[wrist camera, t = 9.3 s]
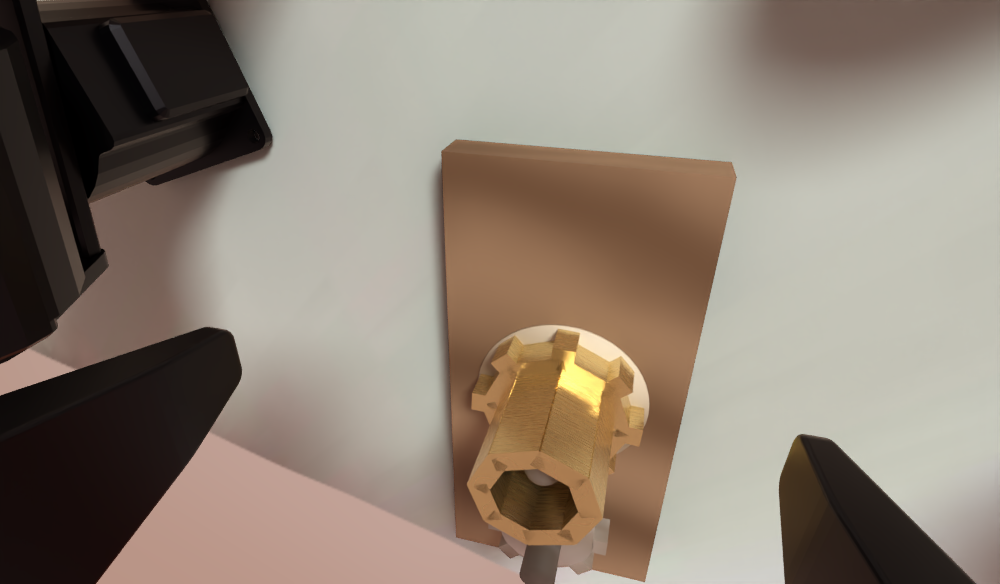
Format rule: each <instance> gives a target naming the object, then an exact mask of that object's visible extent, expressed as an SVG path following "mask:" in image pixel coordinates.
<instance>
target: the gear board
mask: <svg viewBox="0 0 1000 584" xmlns="http://www.w3.org/2000/svg"><path fill="white" fill-rule="evenodd" d="M441 153H442V179H443V205H444V231H445V258H446V284H447V310H448V336H449V362H450V389H451V415H452V441H453V467H454V493H455V520H456V537H457V538H461V539H466V540H470V541H474V542H478V543H483V544H487V545H491V546H495V547H498V548H499V549H501V550H502V551H503V552H504V553H505V554H506V555H507V556H508V557H509V558H513V557H515V556H518V555H521V556H522V557H524V558H523V562H522V566H521V570H520V578H521V579H522V581H523V582H525V584H554V582H555V577H556V571H557V567H568V566H569V567H570V568H571V569H572V570H573V571H574V572H575V573H577V574H581V573H584V572H587V571H590V570H596V571H600V572H605V573H609V574H613V575H617V576H622V577H626V578H630V579H634V580H638V581H643V582H645V579H646V574H647V570H648V566H649V561H650V557H651V552H652V548H653V544H654V539H655V535H656V530H657V526H658V521H659V517H660V513H661V508H662V504H663V499H664V495H665V491H666V486H667V482H668V477H669V473H670V469H671V464H672V460H673V455H674V451H675V447H676V442H677V438H678V433H679V429H680V424H681V420H682V416H683V411H684V407H685V402H686V398H687V394H688V389H689V385H690V380H691V376H692V372H693V367H694V363H695V358H696V354H697V350H698V345H699V341H700V336H701V332H702V327H703V323H704V319H705V314H706V310H707V305H708V301H709V297H710V292H711V288H712V283H713V279H714V275H715V270H716V266H717V261H718V257H719V253H720V248H721V244H722V239H723V235H724V230H725V226H726V222H727V217H728V213H729V208H730V204H731V200H732V195H733V191H734V186H735V182H736V178H737V177H736V174H735V171H734V168H733V165H732V162H721V161H709V160H697V159H685V158H673V157H661V156H648V155H636V154H624V153H612V152H600V151H588V150H576V149H564V148H552V147H540V146H528V145H516V144H504V143H492V142H480V141H468V140H455V141H454V142H452V143H451V144H450V145H449V146H447V147H446V148H445V149H444V150H442V151H441ZM558 329H563V330H568V331H573V332H579V333H580V339H579V345H581V346H582V347H584V348H586V349H588V350H589V351H591V352H593V353H595V354H597V355H598V356H600V357H602V358H604V359H605V360H607V361H609V362H610V361H612V360H614V359H616V358H618V357H620V356H622V357H623V359H624V360H625V361H626V362H627V363H628V365H629V366H630V367H631V368H632V369H633V371H634V383H633V393H631V394H629V395H628V397H629V400H630V404H631V405H632V406H637V407H642V408H645V409H644V427H643V433H642V437H641V441H640V445H639V447H638V446H634V445H629V444H624V445H623V446H622V447H621V449H620V450H619V451H618V452H617V454H616V463H615V472H614V473H612V474H610V475H608V479H607V488H606V496H605V504H604V512H603V519H602V520H601V521H600V522H599V523H598V524H597V525H596V526H595V527H594V528H593V529H592V530H591V531H590V532H589V533H588V534H587V535H586V536H585V537H584V538H583V539H582V540H581V541H580V542H579V543H578V544H577V545H576V544H575V545H528V544H527V545H526V544H524V543H522V542H521V541H519V540H517V539H515V538H513V537H512V536H510V535H508V534H506V533H504V532H503V531H501V530H499V529H497V528H495V527H494V526H492V525H490V524H488V523H486V522H485V520H483V518H482V516H481V514H480V512H479V510H478V508H477V506H476V503H475V501H474V499H473V497H472V495H471V493H470V491H469V488H468V486H467V482H468V480H469V477H470V475H471V472H472V470H473V467H474V465H475V462H476V459H477V457H478V454H479V452H480V449H481V447H482V444H483V442H484V439H485V436H486V434H487V431H488V429H489V426H490V425H489V422H488V420H487V418H486V415H485V413H484V412H482V411H477V410H473V409H471V408H472V392H473V390H474V388H475V386H476V384H477V381H478V379H479V377H480V375H481V374H485V375H490V376H494V375H495V373H496V372H497V370H496V369H495V367H494V366H493V365H492V364H491V362H492V359H493V357H494V355H495V353H496V351H497V348H498V346H499V344H501V343H503V342H504V341H506V340H508V339H509V338H511V337H513V336H514V335H515V336H516V337H517V338H518V339H519V340H520V341H521V343H522V344H523V345H526V344H533V343H540V342H547V341H554V340H555V337H556V334H557V331H558ZM524 471H525V474H526V475H527V477H528V478H529V479H530V480H531V481H532V482H533V483H535V484H537V485H540V486H549V485H552V484H554V483H556V482H557V481H558V480H556V479H554V478H553V477H551V476H549V475H547V474H545V473H544V472H542V471H540V470H538V469H529V470H524Z"/></svg>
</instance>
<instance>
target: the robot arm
mask: <svg viewBox="0 0 1000 584" xmlns="http://www.w3.org/2000/svg"><path fill="white" fill-rule="evenodd" d="M254 130H255V131H256V132H257V133H258V134H259V138H260V139H259V140H258V139H257V138H256V137H255V135H254ZM271 141H272V134H271V131H270V129H269V127H268V125H267V123H266V121H265V119H264V116H263V114H262V112H261V110H260V108H259V106H258V104H257V102H256V100H255V98H254V96H253V94H252V92H251V90H250V88H249V86H248V84H247V82H246V80H245V78H244V76H243V74H242V72H241V70H240V68H239V65H238V63H237V61H236V59H235V57H234V55H233V53H232V51H231V49H230V47H229V45H228V43H227V41H226V39H225V37H224V35H223V33H222V31H221V29H220V27H219V25H218V23H217V21H216V19H215V17H214V15H213V13H212V11H211V8H210V6H209V4H208V2H207V0H49V1H36V0H0V364H1V363H4V362H6V361H8V360H10V359H11V358H13V357H15V356H16V355H18V354H20V353H22V352H23V351H25V350H26V349H28V348H30V347H32V346H33V345H35V344H37V343H39V342H40V341H42V340H44V339H46V338H47V337H49V336H50V335H51V334H52V333H53V332H54V331H55V330H56V329H57V327H58V324H57V321H56V320H57V319H58V318H59V317H60V316H61V315H62V314H63V313H64V312H65V311H66V310H67V309H68V308H69V307H70V306H71V305H72V304H73V303H74V302H75V301H76V300H77V299H78V298H79V297H80V296H81V294H82V293H83V292H84V291H85V290H86V289H87V288H88V287H89V286H90V285H91V284H92V283H93V282H94V281H95V280H96V279H97V278H98V277H99V276H100V275H101V274H102V273H103V272H104V271H105V270H106V269H107V268H108V266H109V265H108V261H107V257H106V253H105V251H104V250H103V249H101V248H100V244H99V240H98V237H97V233H96V229H95V225H94V221H93V217H92V213H91V210H90V206H89V203H92V202H94V201H97V200H99V199H102V198H104V197H107V196H109V195H112V194H114V193H116V192H119V191H121V190H124V189H126V188H129V187H131V186H134V185H136V184H139V183H141V182H144V181H146V182H147V183H148V184H151V185H159V184H162V183H164V182H167V181H170V180H173V179H176V178H179V177H182V176H185V175H188V174H191V173H194V172H196V171H199V170H202V169H205V168H208V167H211V166H214V165H217V164H220V163H223V162H225V161H228V160H231V159H234V158H237V157H240V156H243V155H246V154H249V153H252V152H255V151H257V150H260V149H263V148H265V147H267V146H268V145H270V143H271ZM241 375H242V367H241V363H240V359H239V355H238V351H237V347H236V343H235V339H234V337H233V335H232V334H231V332H229V331H228V330H224V329H219V328H213V327H204V328H201V329H198V330H195V331H192V332H189V333H186V334H183V335H180V336H177V337H174V338H171V339H168V340H165V341H162V342H159V343H156V344H153V345H150V346H147V347H144V348H141V349H138V350H135V351H132V352H129V353H126V354H123V355H120V356H117V357H114V358H111V359H108V360H105V361H102V362H99V363H96V364H93V365H90V366H87V367H84V368H81V369H78V370H75V371H72V372H69V373H66V374H63V375H60V376H57V377H54V378H52V379H48V380H46V381H42V382H39V383H36V384H33V385H31V386H27V387H24V388H21V389H18V390H16V391H12V392H10V393H6V394H4V395H1V396H0V584H96V583H97V582H98V580H99V579H100V578H101V576H102V575H103V574H104V572H105V571H106V570H107V569H108V567H109V566H110V565H111V563H112V562H113V561H114V559H115V558H116V557H117V556H118V554H119V553H120V552H121V550H122V549H123V548H124V546H125V545H126V544H127V542H128V541H129V540H130V539H131V537H132V536H133V535H134V533H135V532H136V531H137V529H138V528H139V527H140V525H141V524H142V523H143V521H144V520H145V519H146V517H147V516H148V515H149V514H150V512H151V511H152V510H153V508H154V507H155V506H156V505H157V503H158V502H159V501H160V499H161V498H162V497H163V495H164V494H165V493H166V491H167V490H168V489H169V487H170V486H171V485H172V483H173V482H174V481H175V480H176V478H177V477H178V476H179V474H180V473H181V472H182V471H183V469H184V468H185V466H186V465H187V464H188V462H189V461H190V460H191V458H192V457H193V455H194V454H195V452H196V451H197V449H198V448H199V446H200V445H201V443H202V442H203V440H204V438H205V437H206V435H207V434H208V432H209V430H210V429H211V427H212V426H213V424H214V422H215V421H216V419H217V417H218V416H219V414H220V413H221V411H222V409H223V408H224V406H225V405H226V403H227V401H228V400H229V398H230V397H231V395H232V393H233V392H234V390H235V389H236V387H237V385H238V384H239V382H240V379H241ZM779 501H780V516H781V531H782V546H783V562H784V577H785V584H976V583H975V582H974V581H973V580H972V579H971V578H970V577H969V576H968V575H967V574H966V573H965V572H964V571H963V570H962V569H961V568H960V567H959V566H958V565H957V564H956V563H955V562H954V561H953V560H952V559H951V558H950V557H949V556H948V555H947V554H946V553H945V552H944V551H943V550H942V549H941V548H940V547H939V546H938V545H937V544H936V543H935V542H934V541H933V540H932V539H931V538H930V537H929V536H928V535H927V534H926V533H925V532H924V531H923V530H922V529H921V528H920V527H919V526H918V525H917V524H916V523H915V522H914V521H913V520H912V519H911V518H910V517H909V516H908V515H907V514H906V513H905V512H904V511H903V510H902V509H901V508H900V507H899V506H898V505H897V504H896V503H895V502H894V501H893V500H892V499H891V498H890V497H889V496H888V495H887V494H886V493H885V492H884V491H883V490H882V489H881V488H880V487H879V486H878V485H877V484H876V483H875V482H874V481H873V480H872V479H871V478H870V477H869V476H868V475H867V474H866V473H865V472H864V471H863V470H862V469H861V468H860V467H859V466H858V465H857V464H856V463H855V462H854V461H853V460H852V459H851V458H850V457H849V456H848V455H847V454H846V453H845V452H844V451H843V450H842V449H841V448H840V447H839V446H838V445H837V444H836V443H834V442H833V441H832V440H830V439H828V438H823V437H817V436H812V435H806V434H801V435H798V436H797V437H796V438H795V440H794V442H793V444H792V447H791V449H790V452H789V455H788V457H787V460H786V462H785V465H784V468H783V470H782V473H781V476H780V482H779Z"/></svg>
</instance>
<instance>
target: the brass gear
mask: <svg viewBox="0 0 1000 584" xmlns="http://www.w3.org/2000/svg"><path fill="white" fill-rule="evenodd" d="M579 339H580V333H579V332H573V331H568V330H563V329H558V331H557V334H556V337H555V340H554V341H547V342H540V343H533V344H526V345H523V344H522V343H521V341H520V340H519V339H518V338H517V337H516V336H515V335H514V336H513V337H511V338H509V339H508V340H506V341H504V342H503V343H501V344H499V346H498V348H497V351H496V353H495V355H494V357H493V359H492V362H491V364H492V365H493V366H494V367H495V369H496V370H497V372H496V373H495V375H494V376H490V375H485V374H481V375H480V377H479V379H478V381H477V384H476V386H475V388H474V390H473V392H472V408H471V409H473V410H477V411H482V412H484V413H485V415H486V418H487V420H488V422H489V425H490V426H489V429H488V431H487V434H486V436H485V439H484V442H483V444H482V447H481V449H480V452H479V454H478V457H477V459H476V462H475V465H474V467H473V470H472V472H471V475H470V477H469V480H468V482H467V486H468V488H469V491H470V493H471V495H472V497H473V499H474V501H475V503H476V506H477V508H478V510H479V512H480V514H481V516H482V518H483V520H485V522H486V523H488V524H490V525H492V526H494V527H495V528H497V529H499V530H501V531H503V532H504V533H506V534H508V535H510V536H512V537H513V538H515V539H517V540H519V541H521V542H522V543H524V544H526V545H527V544H528V545H575V544H576V545H577V544H578V543H579V542H580V541H581V540H582V539H583V538H584V537H585V536H586V535H587V534H588V533H589V532H590V531H591V530H592V529H593V528H594V527H595V526H596V525H597V524H598V523H599V522H600V521H601V520H602V519H603V512H604V504H605V496H606V488H607V479H608V475H610V474H612V473H614V472H615V463H616V454H617V452H618V451H619V450H620V449H621V447H622V446H623V445H624V444H629V445H634V446H638V447H639V445H640V441H641V437H642V433H643V427H644V409H645V408H642V407H637V406H632V405H631V404H630V400H629V397H628V395H629V394H631V393H633V383H634V371H633V369H632V368H631V367H630V366H629V365H628V363H627V362H626V361H625V360H624V359H623V357H622V356H620V357H618V358H616V359H614V360H612V361H610V362H609V361H607V360H605V359H604V358H602V357H600V356H598V355H597V354H595V353H593V352H591V351H589V350H588V349H586V348H584V347H582V346H581V345H579ZM529 469H538V470H540V471H542V472H544V473H545V474H547V475H549V476H551V477H553V478H554V479H556V480H558V481H557V482H556V483H554V484H552V485H549V486H540V485H537V484H535V483H533V482H532V481H531V480H530V479H529V478H528V477H527V475H526V474H525V471H524V470H529Z"/></svg>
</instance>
